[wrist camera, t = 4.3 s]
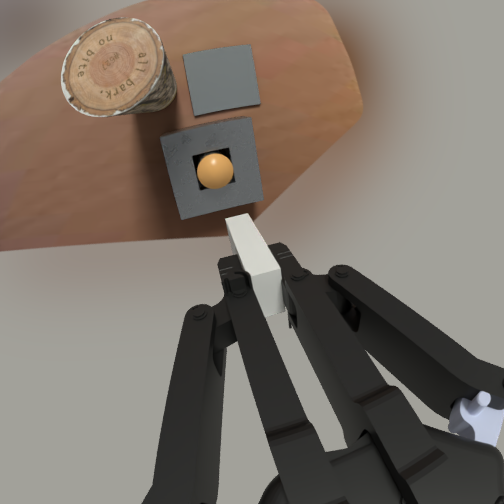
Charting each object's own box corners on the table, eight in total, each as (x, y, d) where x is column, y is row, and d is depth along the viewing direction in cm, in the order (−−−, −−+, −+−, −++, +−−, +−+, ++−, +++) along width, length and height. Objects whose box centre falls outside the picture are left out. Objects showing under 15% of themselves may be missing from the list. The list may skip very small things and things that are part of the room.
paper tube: (186, 92, 34) (186, 66, 13) (149, 121, 35) (98, 139, 14) (160, 60, 30) (126, -1, 9) (123, 89, 31) (44, 72, 10)
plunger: (199, 179, 40) (201, 192, 35) (192, 151, 38) (193, 159, 32) (228, 172, 41) (236, 184, 35) (223, 144, 38) (229, 150, 33)
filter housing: (181, 205, 43) (181, 220, 37) (163, 133, 36) (159, 137, 31) (254, 188, 44) (263, 200, 39) (242, 116, 38) (251, 117, 33)
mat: (194, 115, 36) (194, 115, 36) (182, 55, 31) (182, 54, 30) (259, 103, 37) (260, 103, 37) (249, 44, 32) (250, 44, 32)
